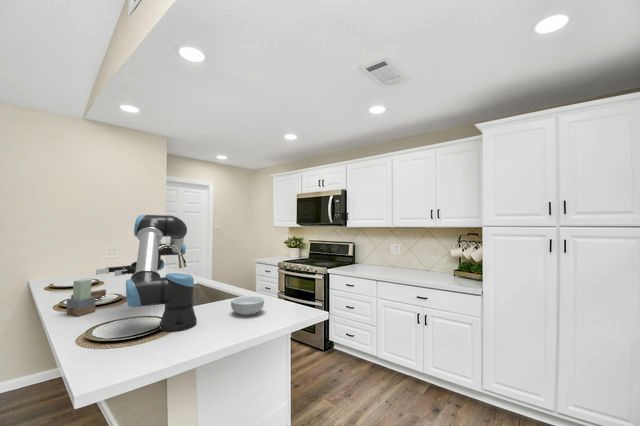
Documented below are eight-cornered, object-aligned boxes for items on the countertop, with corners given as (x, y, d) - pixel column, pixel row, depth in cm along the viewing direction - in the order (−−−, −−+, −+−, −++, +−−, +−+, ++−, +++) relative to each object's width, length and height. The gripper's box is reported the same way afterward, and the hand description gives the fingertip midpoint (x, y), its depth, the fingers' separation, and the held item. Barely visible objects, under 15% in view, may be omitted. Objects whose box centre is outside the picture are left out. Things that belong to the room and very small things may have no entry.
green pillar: (90, 297, 146) (91, 279, 147) (80, 300, 142) (80, 281, 142) (83, 296, 148) (84, 279, 148) (72, 299, 143) (73, 281, 143)
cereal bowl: (270, 312, 152) (270, 298, 152) (247, 321, 138) (247, 306, 138) (247, 306, 161) (248, 294, 161) (223, 314, 147) (224, 300, 147)
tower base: (95, 312, 147) (95, 304, 147) (77, 317, 140) (78, 309, 140) (83, 311, 150) (84, 303, 150) (66, 315, 142) (66, 307, 142)
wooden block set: (69, 293, 163) (104, 287, 180) (68, 303, 163) (103, 296, 179) (85, 297, 156) (120, 290, 172) (84, 307, 156) (119, 299, 172)
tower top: (95, 304, 147) (95, 297, 147) (78, 309, 140) (78, 301, 140) (83, 303, 149) (83, 295, 150) (66, 307, 142) (66, 299, 142)
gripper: (156, 274, 171) (123, 281, 151) (124, 272, 178) (88, 278, 158) (156, 262, 171) (123, 267, 151) (125, 260, 179) (89, 264, 158)
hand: (105, 272), depth 154 cm, fingers open, 13 cm apart
